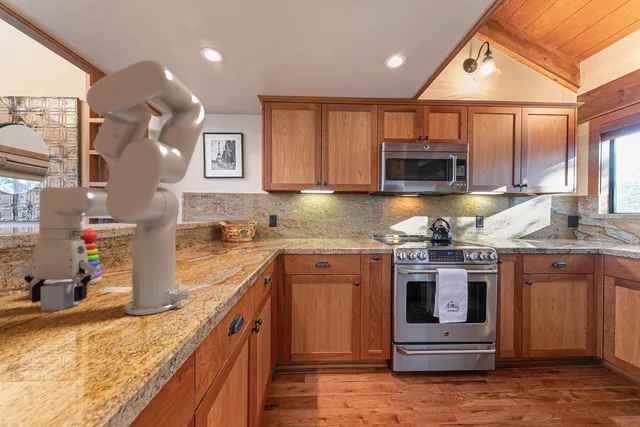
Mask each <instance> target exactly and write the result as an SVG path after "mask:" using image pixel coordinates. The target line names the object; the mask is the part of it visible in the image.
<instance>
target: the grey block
mask: <svg viewBox="0 0 640 427" xmlns="http://www.w3.org/2000/svg"><path fill="white" fill-rule="evenodd" d="M76 286H77V285H76V284H75V283H74V282H73V281H59V282H55V283H52V284H49V285H45V286H42V287H41V301H40V311H42V312H43V311H63V310H66V309H68V308H70V307H73V306H76V305H77V304H79V303H80V301H78V302H75V301H74V287H76Z"/></svg>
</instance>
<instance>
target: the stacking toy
mask: <svg viewBox="0 0 640 427" xmlns="http://www.w3.org/2000/svg"><path fill="white" fill-rule="evenodd" d="M80 231H84V235H83V236H80V240H84V242H85V245H86V250H87V256H88V264H90V265H93V266H95V267H97V268H98V271H97V273H96V274H95V275H94V276H95V277H94V278H93V279H92V280H91V281H90V283H89V286H91V285H90V284H92V285H95V283H96V284H98V283H100V282H102V280H103V276H101V275H103V274H102V273H103V272H102V271H101V266H100V265H99V264H100V260H99V254H98V253H99V250H98V249H97V246H98V244H97V243H96V242H95V241H96V240H97V238H98V235H97V234H98V233H97V232H96V231H95V230H94V229H91V228H85V229H82V230H81V229H80ZM85 276H87V274H86V275H85Z"/></svg>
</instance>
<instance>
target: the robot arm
mask: <svg viewBox="0 0 640 427" xmlns="http://www.w3.org/2000/svg"><path fill="white" fill-rule="evenodd" d="M85 98H86V102H87V105H88V107H89V108H90V110H91V111H92V112H94V113H95V114H97V115H99V116H101V117H104V119H103V121H102V123H101V125H100V128H99V130H98V132H97V133H96V137H95V139H94V141H93V143H92V147H93V149H94V150H95V151H96V153H97V154H99V155H100V157H102V158H103V159H104V161H105V162H106V164H107V166H108V170H109V176H108V180H107V182H106V184H105V187H104V188H98V187H88V186H74V187H73V186H72V187H55V186H54V187H52V186H51V187H50V186H49V187H45V188H44V187H43V188H42V189H41V190H40V191H39V206H38V207H39V209H38V210H39V212H38V214H39V215H38V216H39V218H38V219H39V220H38V222H39V223H38V225H39V226H38V228H39V229H38V235H39V236H38V241H36V244H35V247H34V250H33V251H34V252H33V256H32V257H33V258H32V264H29V265H27V266H25V267H23V268H21V269H20V273H21V275H22V276H23V279H24V281H25V282H26V283H28V288H29V287H32V299H31V303H32V304H34V303H35V304H36V303H39V302H41V287H42V286H45V285H46V284H43V283H44V282H45V281H46V280H65V279H71V280H72V281H73V282H74V283H75V284H76V285H77V286H76V287H74V301H75V302H78V301H79V302H81V301H82V300H85V299H87V296H88V289H87V284H88V283H90V281H91V280H92V279H93V278H94V277H95V276H94V275H95V274H96V273H97V271H98V268H97V267H95V266H93V265H90V264H88V256H87V250H86V245H85V242H84V240H80V236H83V235H84V231H81V228H82V227H81V221H82V220H81V219H82V217H87V218H88V217H105V216H106V217H109V216H110V217H111V219H113V220H114V221H116V222H119V223H120V224H121V223H122V224H126V225H135V224H136V226H135V228H134V232H133V235H132V243H131V244H132V245H131V246H132V248H131V250H132V251H131V255H132V258H131V261H132V262H131V264H132V265H131V267H132V268H131V273H132V274H131V275H132V276H131V278H132V279H131V280H132V281H131V288H132V289H131V298H132V299H131V301H129V302H127V303H126V304H125V305H124V307H123V308H124V313H126V314H127V315H131V316H132V315H133V316H134V315H135V316H144V315H145V316H146V315H152V314H153V315H154V314H158V313H163V312H165V311H168V310H173V309H175V308H176V307H179V306H180V305H181V304H182V300H183V301H184V300H185V301H186V300H190V299H191V295H192V294H191V291H190V289H189V290H188V289H187V290H186V289H184V290H181V289H180V285H177V284H176V239H177V238H176V237H177V236H176V235H177V224H178V218H179V213H180V204H179V200H178V198H177V195H175V193H174V192H173V191H171V190H169V189H167V188H166V187H162V186H159V184H160V183H163V184H178V183H179V182H181V181H183V179H184V178H185V176H186V174H187V171H188V169H189V166H190V163H191V161H192V158H193V155H194V151H195V149H196V146H197V144H198V141H199V139H200V138H199V137H200V135H201V132H202V130H203V128H204V125H205V122H206V112H205V108H204V106H203V104H202V102H201V101H200V99H199V98H198V96H196V95H195V94H194V92H192V91H191V89H190V88H189V87H188V86H187V85H185V83H184V82H182V80H181V79H179V78H178V77H177V76H176V75H175V74H174V73H173V72H172V71H171V69H169V68H168V67H166V65H164V64H162V63H160V62H159V61H155V60H150V59H149V60H148V59H145V60H142V61H138V62H134V63H133V64H131V65H129V66H125V67H124V68H121V69H118V70H116V71H114V72H112V73H109V74H107V75H105V76H103V77H101V78H100V79H98V80H96V82H94V83H93V84H92V85H91V86H90V87H89V89H88V91H87V94H86V97H85ZM147 101H150V102H153V103H154V104H155V105H157V106H159V107H161V108H162V109H163V110H165V111H167V113H169V114H170V117H169V118H168V119H166V121H165V122H164V123H163V125H162V127H161V128H160V132H159V135H158V137H157V139H154V138H148V137H144V136H145V134H146V130H147V129H148V127H149V125H150V123H151V120H152V110H151V108H150V107H149V105H148V104H147V103H146V102H147ZM86 274H87V276H85V275H86ZM79 278H80V279H81V280H80V279H79Z"/></svg>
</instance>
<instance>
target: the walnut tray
mask: <svg viewBox="0 0 640 427" xmlns="http://www.w3.org/2000/svg"><path fill="white" fill-rule="evenodd" d="M79 279H80V278H79ZM80 280H81V279H80ZM59 281H72V280H71V279H65V280H46V281H45V282H44V283H43V284H46V285H49V284H52V283H55V282H59ZM89 289H90V285H89V283H88V284H87V290H89ZM28 300H32V287H29V286H28Z"/></svg>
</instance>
